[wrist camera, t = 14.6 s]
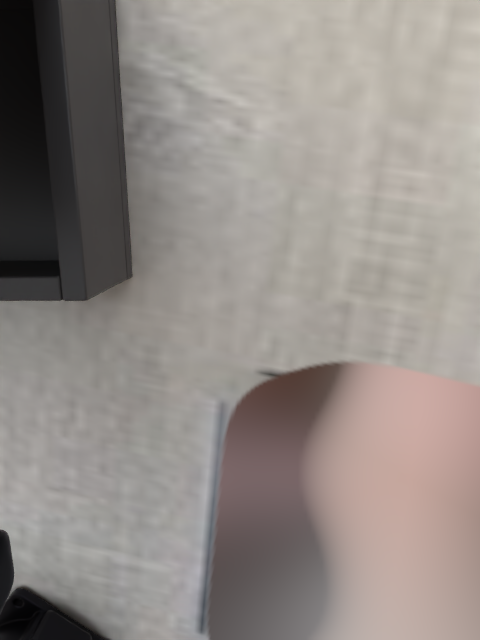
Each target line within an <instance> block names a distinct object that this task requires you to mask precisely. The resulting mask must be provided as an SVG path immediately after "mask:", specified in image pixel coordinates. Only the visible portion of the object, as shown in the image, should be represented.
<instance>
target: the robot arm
mask: <svg viewBox="0 0 480 640" xmlns="http://www.w3.org/2000/svg"><path fill="white" fill-rule="evenodd" d="M13 581H14V567H13V560H12V553H11V546H10V540H9V536H8V534H7V532H6V531H4V530H0V640H104V639H103V638H101V637H99V636H98V635H96V634H95V633H93V632H92V631H90V630H89V629H87V628H85V627H84V626H82V625H81V624H79V623H78V622H76V621H75V620H73V619H71V618H70V617H68V616H67V615H65V614H64V613H62V612H60V611H59V610H57V609H56V608H54V607H53V606H51V605H50V604H48V603H46V602H45V601H43V600H42V599H40V598H39V597H37V596H36V595H34V594H32V593H31V592H29V591H28V590H26V589H23V588H19V589H16V590H15V591H13V593H12V594H11V595H10V596H9V593H10V591H11V588H12V585H13ZM8 596H9V598H8ZM7 598H8V599H7Z"/></svg>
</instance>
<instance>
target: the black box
mask: <svg viewBox="0 0 480 640" xmlns="http://www.w3.org/2000/svg"><path fill="white" fill-rule="evenodd" d="M131 277H132V262H131V246H130V230H129V215H128V199H127V183H126V168H125V152H124V136H123V121H122V105H121V89H120V74H119V58H118V42H117V27H116V11H115V0H0V301H60V300H65V301H86V300H88V299H90V298H92V297H94V296H96V295H98V294H100V293H102V292H104V291H105V290H107V289H109V288H111V287H113V286H115V285H117V284H119V283H121V282H123V281H125V280H127V279H129V278H131Z"/></svg>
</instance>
